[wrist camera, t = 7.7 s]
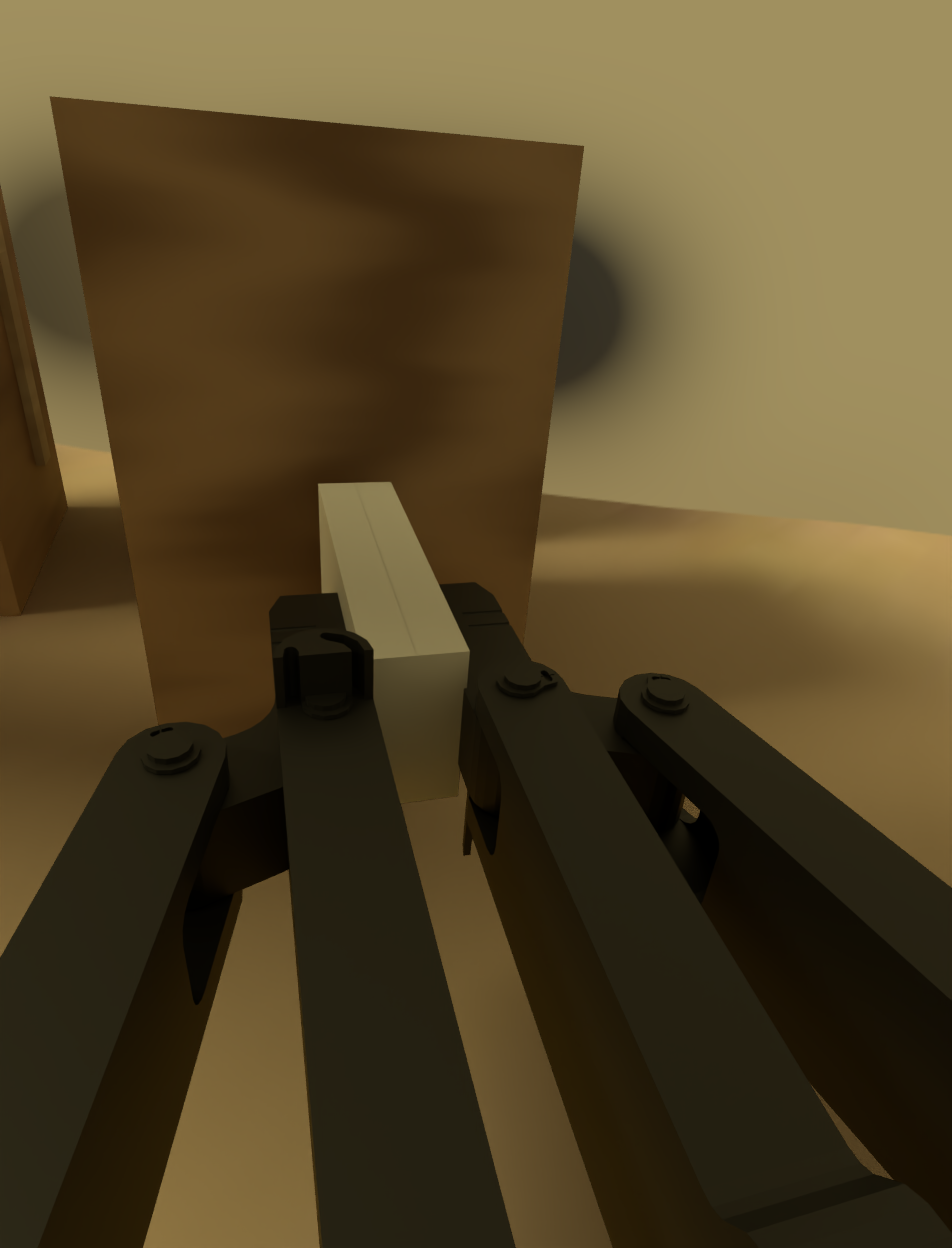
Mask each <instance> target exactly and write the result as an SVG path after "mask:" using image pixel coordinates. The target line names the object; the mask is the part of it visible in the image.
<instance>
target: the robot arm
mask: <svg viewBox="0 0 952 1248" xmlns="http://www.w3.org/2000/svg"><path fill="white" fill-rule="evenodd" d="M318 495H319V525H320V556H321V586H322V593H320V594H304V595H288V596H280V597H279V598H278V599H277V601H276V602H275V604H274V605H273V606H272V608H271V609H270V611H269V622H270V635H271V649H272V662H273V676H274V689H275V703H274V706H273V708H272V709H271V711H270V713H269V714H268V715H267V716H266V717H265V718H264V719H263V720H262V721H261V722H259V723H257V724H256V725H254V726H253V727H251V728H250V729H247V730H245V731H242V732H240V733H237V734H235V735H232V736H229V737H225V738H222V737H221V735H220V733H219V732H217V731H215V730H214V729H212V728H210V727H208V726H206V725H203V724H197V723H191V722H176V723H165V724H162V725H159V726H155V727H152V728H149V729H145V730H144V731H142V732H140V733H139V734H137V735H135V736H134V737H132V738H130V739H128V740H127V742H126V743H125V744H124V745H123V746H122V747H121V748H120V749H119V751H118V752H117V753H116V755H115V756H114V758H113V760H112V762H111V763H110V765H109V767H108V769H107V771H106V772H105V774H104V776H103V778H102V779H101V781H100V783H99V785H98V786H97V788H96V790H95V792H94V793H93V795H92V797H91V799H90V800H89V802H88V804H87V806H86V808H85V809H84V811H83V813H82V815H81V816H80V818H79V820H78V822H77V823H76V825H75V827H74V829H73V830H72V832H71V834H70V836H69V837H68V839H67V841H66V843H65V845H64V846H63V848H62V850H61V852H60V853H59V855H58V857H57V859H56V860H55V862H54V864H53V866H52V867H51V869H50V871H49V873H48V875H47V876H46V878H45V880H44V882H43V883H42V885H41V887H40V889H39V890H38V892H37V894H36V896H35V897H34V899H33V901H32V903H31V904H30V906H29V908H28V910H27V912H26V913H25V915H24V917H23V919H22V920H21V922H20V924H19V926H18V927H17V929H16V931H15V933H14V934H13V936H12V938H11V940H10V942H9V943H8V945H7V947H6V949H5V950H4V952H3V954H2V956H1V957H0V1248H143V1246H144V1242H145V1239H146V1235H147V1232H148V1228H149V1225H150V1221H151V1218H152V1214H153V1211H154V1207H155V1204H156V1200H157V1196H158V1193H159V1189H160V1186H161V1182H162V1179H163V1175H164V1172H165V1168H166V1165H167V1161H168V1158H169V1154H170V1151H171V1147H172V1144H173V1140H174V1137H175V1133H176V1130H177V1126H178V1123H179V1119H180V1116H181V1112H182V1109H183V1105H184V1102H185V1098H186V1095H187V1091H188V1088H189V1084H190V1081H191V1077H192V1074H193V1070H194V1067H195V1063H196V1060H197V1056H198V1053H199V1049H200V1046H201V1042H202V1039H203V1035H204V1032H205V1028H206V1025H207V1021H208V1018H209V1014H210V1011H211V1007H212V1004H213V1000H214V997H215V993H216V990H217V986H218V983H219V979H220V976H221V972H222V969H223V965H224V962H225V958H226V955H227V951H228V948H229V944H230V941H231V937H232V934H233V930H234V927H235V923H236V920H237V916H238V913H239V909H240V906H241V902H242V891H243V889H245V888H247V887H249V886H252V885H254V884H256V883H258V882H261V881H263V880H265V879H268V878H270V877H272V876H275V875H277V874H279V873H282V872H284V871H286V870H289V880H290V892H291V904H292V916H293V928H294V941H295V953H296V965H297V977H298V989H299V1001H300V1013H301V1026H302V1038H303V1050H304V1062H305V1074H306V1086H307V1098H308V1110H309V1123H310V1135H311V1147H312V1159H313V1171H314V1183H315V1195H316V1208H317V1220H318V1232H319V1244H320V1248H516V1247H515V1244H514V1240H513V1236H512V1232H511V1228H510V1224H509V1220H508V1217H507V1213H506V1209H505V1205H504V1201H503V1197H502V1193H501V1189H500V1186H499V1182H498V1178H497V1174H496V1170H495V1166H494V1162H493V1159H492V1155H491V1151H490V1147H489V1143H488V1139H487V1135H486V1132H485V1128H484V1124H483V1120H482V1116H481V1112H480V1108H479V1105H478V1101H477V1097H476V1093H475V1089H474V1085H473V1081H472V1078H471V1074H470V1070H469V1066H468V1062H467V1058H466V1054H465V1051H464V1047H463V1043H462V1039H461V1035H460V1031H459V1027H458V1024H457V1020H456V1016H455V1012H454V1008H453V1004H452V1000H451V996H450V993H449V989H448V985H447V981H446V977H445V973H444V969H443V966H442V962H441V958H440V954H439V950H438V946H437V942H436V939H435V935H434V931H433V927H432V923H431V919H430V915H429V912H428V908H427V904H426V900H425V896H424V892H423V888H422V885H421V881H420V877H419V873H418V869H417V865H416V861H415V858H414V854H413V850H412V846H411V842H410V838H409V834H408V831H407V827H406V823H405V819H404V815H403V811H402V807H401V804H402V803H410V802H417V801H424V800H432V799H439V798H447V797H454V796H458V789H459V777H460V771H461V774H462V776H463V779H464V782H465V785H466V787H467V801H466V812H465V823H464V835H463V856H465V855H470V853H471V843H472V840H474V843H475V846H476V849H477V852H478V855H479V858H480V861H481V864H482V866H483V869H484V872H485V875H486V878H487V881H488V884H489V887H490V890H491V893H492V896H493V899H494V902H495V904H496V907H497V910H498V913H499V916H500V919H501V922H502V925H503V928H504V931H505V934H506V937H507V940H508V942H509V945H510V948H511V951H512V954H513V957H514V960H515V963H516V966H517V969H518V972H519V975H520V978H521V981H522V983H523V986H524V989H525V992H526V995H527V998H528V1001H529V1004H530V1007H531V1010H532V1013H533V1016H534V1019H535V1021H536V1024H537V1027H538V1030H539V1033H540V1036H541V1039H542V1042H543V1045H544V1048H545V1051H546V1054H547V1057H548V1059H549V1062H550V1065H551V1068H552V1071H553V1074H554V1077H555V1080H556V1083H557V1086H558V1089H559V1092H560V1095H561V1097H562V1100H563V1103H564V1106H565V1109H566V1112H567V1115H568V1118H569V1121H570V1124H571V1127H572V1130H573V1133H574V1135H575V1138H576V1141H577V1144H578V1147H579V1150H580V1153H581V1156H582V1159H583V1162H584V1165H585V1168H586V1171H587V1173H588V1176H589V1179H590V1182H591V1185H592V1188H593V1191H594V1194H595V1197H596V1200H597V1203H598V1206H599V1209H600V1212H601V1214H602V1217H603V1220H604V1223H605V1226H606V1229H607V1232H608V1235H609V1238H610V1241H611V1244H612V1247H613V1248H952V888H951V887H950V886H948V885H947V884H946V883H945V882H943V881H942V880H941V879H940V878H938V877H937V876H936V875H934V874H933V873H932V872H931V871H929V870H928V869H927V868H926V867H924V866H923V865H922V864H920V863H919V862H918V861H917V860H915V859H914V858H913V857H912V856H910V855H909V854H908V853H907V852H905V851H904V850H903V849H901V848H900V847H899V846H898V845H896V844H895V843H894V842H893V841H891V840H890V839H889V838H887V837H886V836H885V835H884V834H882V833H881V832H880V831H879V830H877V829H876V828H875V827H873V826H872V825H871V824H870V823H868V822H867V821H866V820H865V819H863V818H862V817H861V816H859V815H858V814H857V813H856V812H854V811H853V810H852V809H851V808H849V807H848V806H847V805H845V804H844V803H843V802H842V801H840V800H839V799H838V798H837V797H835V796H834V795H833V794H831V793H830V792H829V791H828V790H826V789H825V788H824V787H823V786H821V785H820V784H819V783H817V782H816V781H815V780H814V779H812V778H811V777H810V776H809V775H807V774H806V773H805V772H804V771H802V770H801V769H800V768H798V767H797V766H796V765H795V764H793V763H792V762H791V761H790V760H788V759H787V758H786V757H784V756H783V755H782V754H781V753H779V752H778V751H777V750H776V749H774V748H773V747H772V746H770V745H769V744H768V743H767V742H765V741H764V740H763V739H762V738H760V737H759V736H758V735H756V734H755V733H754V732H753V731H751V730H750V729H749V728H748V727H746V726H745V725H744V724H742V723H741V722H740V721H739V720H737V719H736V718H735V717H734V716H732V715H731V714H730V713H728V712H727V711H726V710H725V709H723V708H722V707H721V706H720V705H718V704H717V703H716V702H715V701H713V700H712V699H711V698H709V697H708V696H707V695H706V694H704V693H703V692H702V691H701V690H699V689H698V688H696V687H695V686H693V685H691V684H690V683H688V682H686V681H684V680H682V679H679V678H676V677H673V676H670V675H665V674H655V673H647V674H639V675H635V676H633V677H631V678H629V679H627V680H625V681H624V682H623V684H622V686H621V687H620V689H619V693H618V698H609V697H600V696H591V695H584V694H579V693H574V692H571V691H570V690H569V688H568V686H567V685H566V683H565V682H564V680H563V679H562V678H561V677H560V676H559V675H558V674H557V673H556V672H555V671H554V670H552V669H550V668H548V667H546V666H544V665H543V664H540V663H536V662H532V661H531V659H530V657H529V656H528V654H527V652H526V650H525V649H524V647H523V645H522V643H521V642H520V640H519V638H518V636H517V635H516V633H515V631H514V630H513V628H512V626H511V625H509V621H508V619H507V617H506V616H505V614H504V613H502V609H501V607H500V605H499V603H498V602H497V600H496V598H495V597H494V595H493V594H492V593H490V592H489V591H487V590H486V589H484V588H483V587H481V586H480V585H479V584H477V583H476V582H468V583H451V584H438V582H437V580H436V578H435V575H434V573H433V571H432V569H431V567H430V565H429V563H428V560H427V558H426V556H425V554H424V552H423V550H422V548H421V545H420V543H419V541H418V539H417V537H416V535H415V533H414V530H413V528H412V526H411V524H410V522H409V520H408V518H407V515H406V513H405V511H404V509H403V507H402V505H401V503H400V500H399V498H398V496H397V494H396V492H395V490H394V488H393V485H392V483H391V482H365V483H325V484H318ZM685 796H686V797H687V798H688V799H689V800H690V801H691V802H692V803H693V804H694V805H695V806H696V807H697V808H698V809H699V810H700V813H699V817H698V818H694V817H693V816H692V815H690V814H689V813H688V812H687V811H686V810H685V809H684V808H683V803H684V800H685ZM810 1084H811V1085H812V1086H813V1087H814V1088H815V1090H816V1091H817V1092H818V1093H819V1094H820V1095H821V1096H822V1098H823V1099H824V1100H825V1101H826V1102H827V1103H828V1105H829V1106H830V1107H831V1108H832V1109H833V1110H834V1111H835V1113H836V1114H837V1115H838V1116H839V1117H840V1118H841V1120H842V1121H843V1122H844V1123H845V1124H846V1125H847V1126H848V1128H849V1129H850V1130H851V1131H852V1132H853V1133H854V1134H855V1136H856V1137H857V1138H858V1139H859V1140H860V1141H861V1143H862V1144H863V1145H864V1146H865V1147H866V1148H867V1149H868V1151H869V1152H870V1153H871V1154H872V1155H873V1156H874V1158H875V1159H876V1160H877V1161H878V1162H879V1163H880V1164H881V1166H882V1167H883V1168H884V1169H885V1170H886V1171H887V1173H888V1174H889V1175H890V1176H891V1177H892V1178H893V1179H894V1180H891V1179H888V1178H884V1177H881V1176H878V1175H875V1174H873V1173H872V1172H870V1171H869V1170H868V1169H867V1168H866V1167H864V1166H863V1165H862V1164H861V1163H860V1162H859V1160H858V1159H857V1158H856V1156H855V1155H854V1154H853V1152H852V1151H851V1150H850V1148H849V1147H848V1145H847V1144H846V1142H845V1140H844V1139H843V1137H842V1136H841V1134H840V1132H839V1131H838V1129H837V1127H836V1126H835V1124H834V1122H833V1121H832V1119H831V1117H830V1116H829V1114H828V1113H827V1111H826V1109H825V1108H824V1106H823V1104H822V1103H821V1101H820V1099H819V1098H818V1096H817V1095H816V1093H815V1091H814V1090H813V1088H812V1086H811V1085H810Z"/></svg>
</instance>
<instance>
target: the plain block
mask: <svg viewBox="0 0 952 1248" xmlns="http://www.w3.org/2000/svg"><path fill="white" fill-rule="evenodd" d="M50 101H51V106H52V112H53V118H54V124H55V129H56V135H57V141H58V147H59V153H60V158H61V164H62V170H63V176H64V181H65V187H66V193H67V199H68V205H69V211H70V216H71V222H72V228H73V234H74V239H75V245H76V251H77V257H78V263H79V268H80V274H81V280H82V286H83V291H84V297H85V303H86V309H87V315H88V320H89V326H90V332H91V338H92V343H93V349H94V355H95V360H96V367H97V373H98V378H99V384H100V389H101V395H102V401H103V407H104V413H105V419H106V424H107V430H108V436H109V442H110V448H111V453H112V459H113V465H114V471H115V477H116V482H117V488H118V494H119V500H120V506H121V511H122V517H123V523H124V529H125V534H126V540H127V546H128V552H129V558H130V563H131V569H132V575H133V581H134V587H135V592H136V598H137V604H138V610H139V615H140V621H141V627H142V633H143V639H144V644H145V650H146V656H147V662H148V668H149V673H150V679H151V685H152V691H153V696H154V702H155V708H156V714H157V720H158V725H162V724H165V723H176V722H191V723H197V724H203V725H206V726H208V727H210V728H212V729H214V730H215V731H217V732H219V733H220V735H221V737H222V738H225V737H229V736H232V735H235V734H237V733H240V732H242V731H245V730H247V729H250V728H251V727H253V726H254V725H256V724H257V723H259V722H261V721H262V720H263V719H264V718H265V717H266V716H267V715H268V714H269V713H270V711H271V709H272V708H273V706H274V703H275V689H274V676H273V662H272V649H271V635H270V622H269V611H270V609H271V608H272V606H273V605H274V604H275V602H276V601H277V599H278V598H279V597H280V596H288V595H304V594H320V593H322V586H321V556H320V525H319V495H318V484H325V483H365V482H391V483H392V485H393V488H394V490H395V492H396V494H397V496H398V498H399V500H400V503H401V505H402V507H403V509H404V511H405V513H406V515H407V518H408V520H409V522H410V524H411V526H412V528H413V530H414V533H415V535H416V537H417V539H418V541H419V543H420V545H421V548H422V550H423V552H424V554H425V556H426V558H427V560H428V563H429V565H430V567H431V569H432V571H433V573H434V575H435V578H436V580H437V582H438V584H451V583H468V582H476V583H477V584H479V585H480V586H481V587H483V588H484V589H486V590H487V591H489V592H490V593H492V594H493V595H494V597H495V598H496V600H497V602H498V603H499V605H500V607H501V609H502V613H504V614H505V616H506V617H507V619H508V621H509V625H511V626H512V628H513V630H514V631H515V633H516V635H517V636H518V638H519V640H520V642H521V643H522V645H523V641H524V633H525V625H526V616H527V608H528V600H529V592H530V584H531V576H532V567H533V559H534V551H535V543H536V535H537V527H538V518H539V510H540V502H541V494H542V485H543V478H544V469H545V461H546V453H547V444H548V436H549V429H550V420H551V412H552V404H553V396H554V388H555V380H556V371H557V363H558V355H559V347H560V338H561V330H562V322H563V314H564V305H565V298H566V290H567V281H568V273H569V264H570V257H571V249H572V240H573V233H574V224H575V215H576V208H577V200H578V191H579V184H580V175H581V167H582V158H583V151H584V146H577V145H567V144H557V143H545V142H535V141H524V140H513V139H503V138H492V137H481V136H470V135H460V134H449V133H438V132H426V131H416V130H405V129H394V128H384V127H372V126H362V125H351V124H341V123H330V122H319V121H309V120H308V121H307V120H298V119H287V118H276V117H265V116H255V115H244V114H233V113H222V112H212V111H200V110H190V109H179V108H169V107H158V106H147V105H137V104H126V103H114V102H104V101H93V100H83V99H71V98H60V97H50Z"/></svg>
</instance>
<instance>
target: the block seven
mask: <svg viewBox="0 0 952 1248" xmlns="http://www.w3.org/2000/svg"><path fill="white" fill-rule="evenodd" d="M67 508H68V506H67V501H66V496H65V492H64V487H63V482H62V477H61V473H60V468H59V463H58V458H57V453H56V449H55V444H54V439H53V434H52V430H51V425H50V420H49V415H48V411H47V406H46V401H45V396H44V392H43V387H42V382H41V377H40V372H39V368H38V363H37V358H36V353H35V349H34V344H33V339H32V334H31V329H30V324H29V320H28V315H27V310H26V305H25V301H24V296H23V291H22V286H21V281H20V277H19V272H18V267H17V262H16V258H15V253H14V249H13V243H12V238H11V234H10V229H9V224H8V220H7V215H6V210H5V205H4V200H3V196H2V191H1V186H0V617H3V616H19V615H21V613H22V611H23V609H24V607H25V604H26V602H27V600H28V597H29V595H30V593H31V590H32V588H33V586H34V584H35V581H36V579H37V577H38V574H39V572H40V570H41V568H42V565H43V563H44V561H45V558H46V556H47V554H48V551H49V549H50V547H51V545H52V542H53V540H54V538H55V535H56V533H57V531H58V528H59V526H60V524H61V522H62V519H63V517H64V515H65V512H66V510H67Z"/></svg>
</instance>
